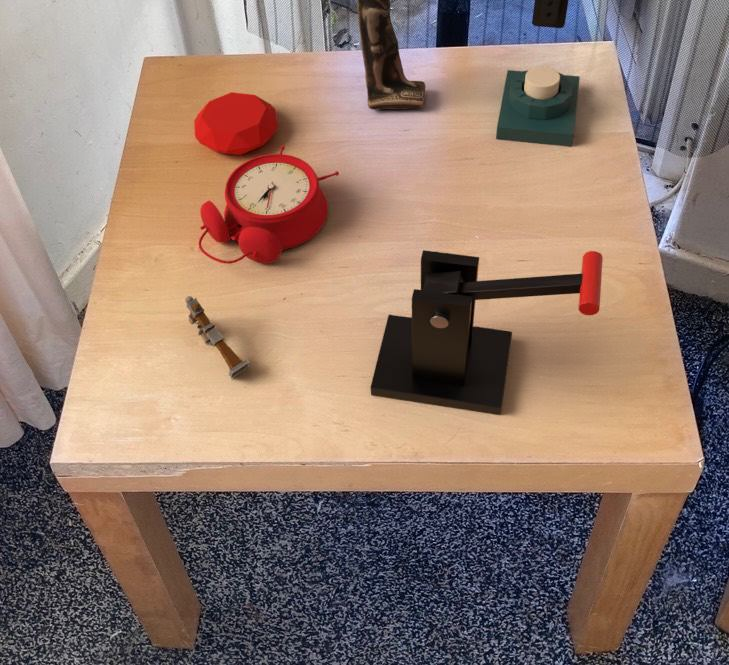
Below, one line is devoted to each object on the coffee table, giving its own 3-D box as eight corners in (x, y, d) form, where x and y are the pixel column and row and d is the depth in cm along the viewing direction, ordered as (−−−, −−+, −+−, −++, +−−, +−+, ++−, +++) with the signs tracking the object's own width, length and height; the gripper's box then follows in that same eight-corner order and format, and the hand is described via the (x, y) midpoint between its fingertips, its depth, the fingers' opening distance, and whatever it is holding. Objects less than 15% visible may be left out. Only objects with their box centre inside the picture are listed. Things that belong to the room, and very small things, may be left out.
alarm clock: (353, 170, 84) (252, 236, 75) (348, 222, 88) (252, 291, 79) (272, 133, 88) (166, 191, 79) (271, 185, 92) (171, 246, 83)
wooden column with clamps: (194, 305, 78) (196, 288, 74) (245, 375, 77) (250, 361, 73) (177, 316, 77) (178, 298, 73) (228, 386, 76) (232, 372, 72)
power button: (559, 81, 92) (561, 67, 91) (556, 101, 90) (558, 88, 88) (525, 78, 93) (527, 64, 91) (522, 98, 90) (523, 85, 89)
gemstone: (196, 114, 96) (190, 92, 94) (274, 103, 97) (271, 81, 95) (199, 167, 91) (193, 145, 89) (282, 155, 92) (278, 133, 89)
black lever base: (511, 339, 75) (524, 247, 66) (500, 415, 71) (513, 328, 61) (388, 322, 77) (385, 231, 68) (370, 395, 72) (363, 308, 63)
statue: (425, 113, 95) (427, -62, 79) (362, 115, 95) (351, -59, 79) (425, 90, 97) (427, -84, 81) (363, 91, 98) (352, -82, 82)
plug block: (577, 88, 96) (582, 62, 93) (571, 146, 90) (576, 120, 87) (506, 82, 97) (508, 55, 95) (495, 139, 91) (498, 112, 89)
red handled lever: (604, 267, 64) (600, 245, 62) (601, 319, 61) (597, 297, 59) (437, 280, 69) (429, 259, 67) (427, 328, 66) (418, 308, 64)
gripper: (620, -129, 66) (581, 71, 80) (626, -211, 74) (590, -16, 89) (522, -135, 67) (502, 64, 81) (539, -214, 75) (518, -22, 90)
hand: (548, 22), depth 85 cm, fingers closed
